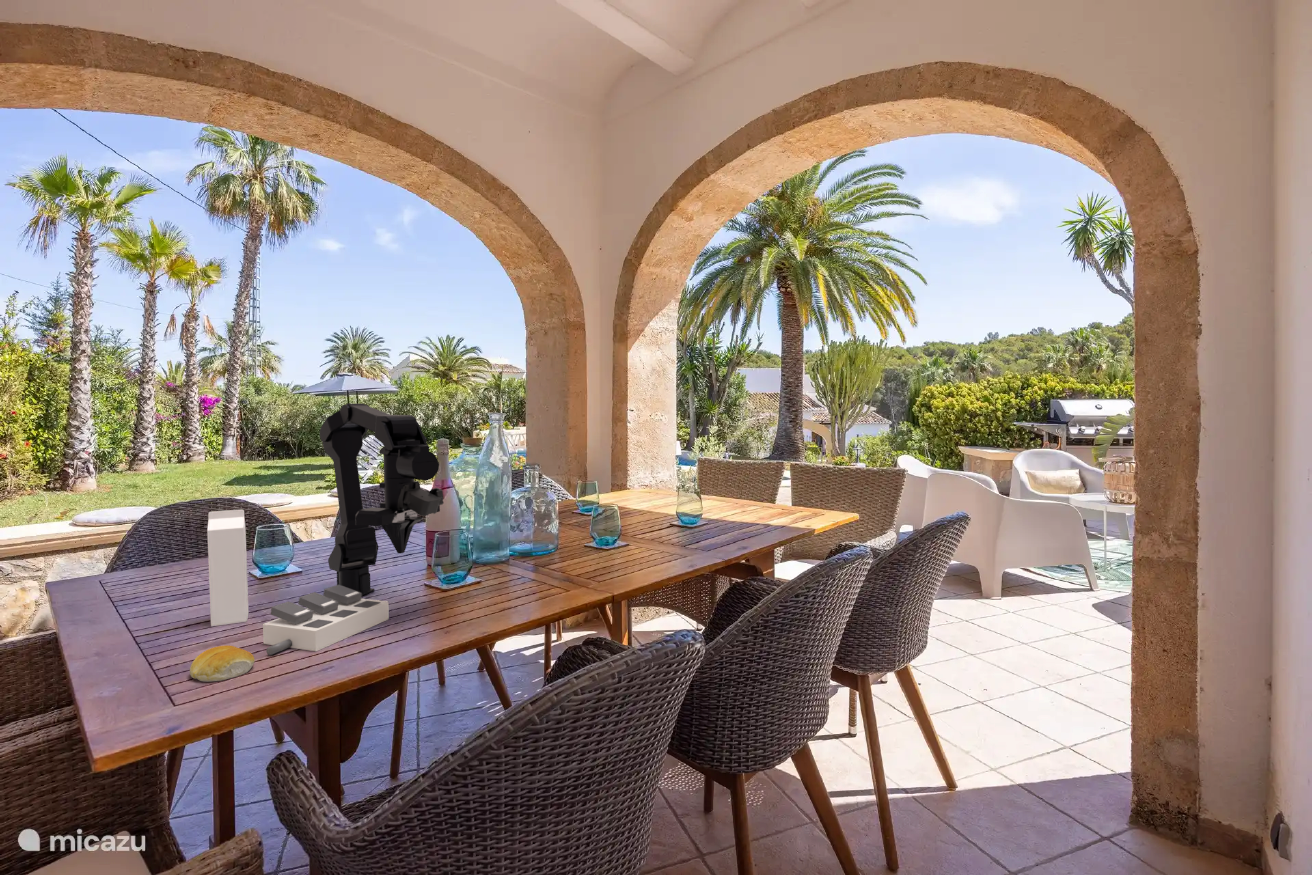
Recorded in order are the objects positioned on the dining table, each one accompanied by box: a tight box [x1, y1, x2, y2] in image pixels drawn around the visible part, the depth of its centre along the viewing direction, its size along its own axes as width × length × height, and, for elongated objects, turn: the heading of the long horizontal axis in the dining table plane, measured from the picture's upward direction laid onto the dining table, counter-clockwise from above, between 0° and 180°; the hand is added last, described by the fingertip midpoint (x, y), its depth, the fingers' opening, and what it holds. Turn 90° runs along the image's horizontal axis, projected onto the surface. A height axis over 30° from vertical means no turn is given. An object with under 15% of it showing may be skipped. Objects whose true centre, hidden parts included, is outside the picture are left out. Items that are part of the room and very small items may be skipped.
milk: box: [206, 509, 249, 627], centre depth 130 cm, size 6×6×22 cm
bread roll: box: [189, 645, 256, 683], centre depth 105 cm, size 8×9×4 cm
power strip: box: [262, 597, 390, 656], centre depth 122 cm, size 12×22×4 cm, turn 162°
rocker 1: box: [270, 601, 313, 624], centre depth 119 cm, size 6×4×2 cm, turn 72°
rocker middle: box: [297, 591, 339, 615], centre depth 125 cm, size 6×4×2 cm, turn 72°
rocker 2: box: [322, 584, 363, 605], centre depth 130 cm, size 6×4×2 cm, turn 72°
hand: (401, 552), depth 134 cm, fingers closed
